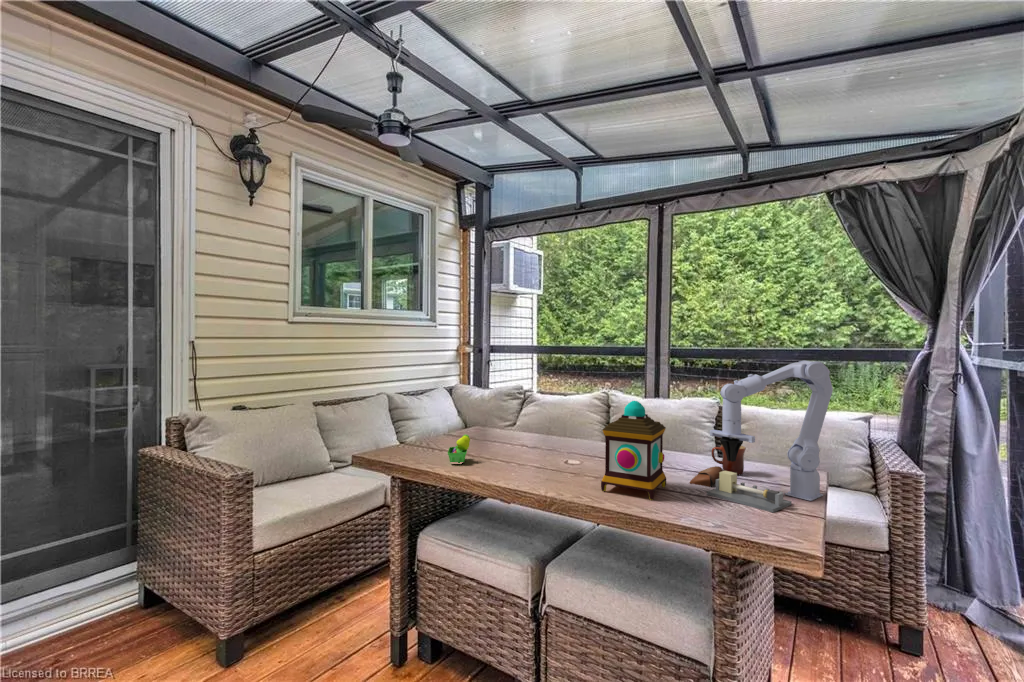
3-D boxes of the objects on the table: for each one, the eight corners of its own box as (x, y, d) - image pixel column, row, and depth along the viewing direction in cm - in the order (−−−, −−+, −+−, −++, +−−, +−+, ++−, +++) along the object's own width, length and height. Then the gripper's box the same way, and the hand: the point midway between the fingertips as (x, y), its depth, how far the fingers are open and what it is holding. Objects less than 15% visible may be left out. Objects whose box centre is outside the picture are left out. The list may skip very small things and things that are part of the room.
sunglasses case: (699, 472, 184) (709, 458, 182) (716, 484, 181) (726, 470, 179) (688, 483, 169) (698, 468, 167) (706, 496, 166) (716, 481, 164)
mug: (744, 471, 186) (744, 445, 186) (747, 477, 177) (747, 449, 177) (710, 468, 190) (710, 442, 190) (712, 474, 181) (712, 447, 181)
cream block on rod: (719, 490, 158) (719, 472, 158) (725, 488, 160) (725, 470, 160) (731, 493, 155) (731, 474, 155) (736, 491, 157) (736, 473, 157)
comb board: (706, 494, 157) (706, 480, 157) (725, 487, 164) (726, 474, 164) (773, 512, 140) (773, 497, 140) (791, 504, 148) (791, 490, 148)
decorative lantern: (656, 503, 148) (656, 406, 148) (595, 492, 159) (596, 401, 159) (671, 486, 165) (671, 399, 166) (615, 477, 176) (616, 396, 176)
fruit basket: (449, 458, 203) (449, 432, 203) (470, 458, 203) (470, 432, 203) (447, 465, 191) (447, 437, 191) (469, 465, 192) (469, 437, 192)
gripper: (705, 418, 163) (704, 458, 163) (747, 424, 152) (747, 467, 152) (716, 416, 168) (715, 455, 168) (758, 422, 156) (758, 463, 156)
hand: (731, 460), depth 160 cm, fingers closed
